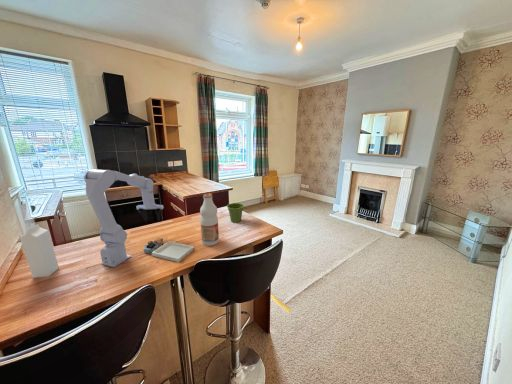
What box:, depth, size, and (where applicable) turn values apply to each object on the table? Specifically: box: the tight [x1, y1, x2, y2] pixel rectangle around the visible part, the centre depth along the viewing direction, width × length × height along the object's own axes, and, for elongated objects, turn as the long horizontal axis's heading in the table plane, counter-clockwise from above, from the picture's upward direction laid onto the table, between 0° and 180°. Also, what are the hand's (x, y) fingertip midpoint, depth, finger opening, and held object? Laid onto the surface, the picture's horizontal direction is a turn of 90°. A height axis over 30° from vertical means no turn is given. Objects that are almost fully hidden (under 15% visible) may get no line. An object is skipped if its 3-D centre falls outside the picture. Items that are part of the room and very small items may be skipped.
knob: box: [147, 240, 154, 248], centre depth 109 cm, size 3×3×4 cm
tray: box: [151, 240, 195, 263], centre depth 107 cm, size 12×16×2 cm
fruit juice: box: [199, 193, 220, 247], centre depth 114 cm, size 9×9×28 cm
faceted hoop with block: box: [143, 237, 164, 255], centre depth 111 cm, size 11×7×3 cm, turn 161°
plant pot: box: [226, 202, 245, 224], centre depth 145 cm, size 12×12×11 cm
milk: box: [19, 223, 60, 279], centre depth 88 cm, size 6×6×22 cm
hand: (152, 220), depth 121 cm, fingers open, 7 cm apart
